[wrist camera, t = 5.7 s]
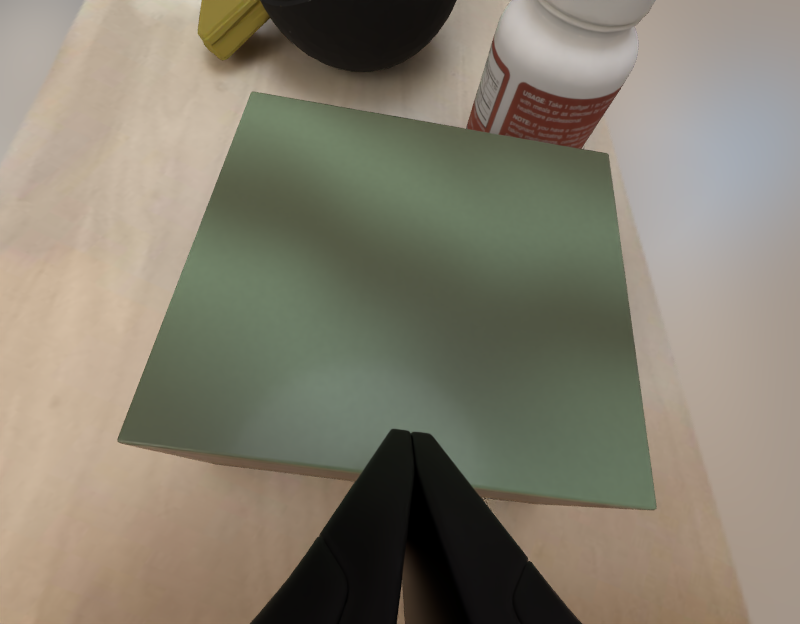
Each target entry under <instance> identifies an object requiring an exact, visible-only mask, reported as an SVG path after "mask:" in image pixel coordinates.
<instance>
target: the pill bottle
mask: <svg viewBox="0 0 800 624" xmlns="http://www.w3.org/2000/svg"><path fill="white" fill-rule="evenodd" d="M654 2H655V0H511V1H510V3H509V4H508V5H507V6H506V8H505V9H504V11H503V13H502V15H501V17H500V19H499V22H498V25H497V28H496V31H495V34H494V38H493V41H492V44H491V48H490V51H489V55H488V58H487V61H486V65H485V68H484V71H483V74H482V78H481V81H480V84H479V87H478V91H477V94H476V97H475V101H474V104H473V107H472V110H471V114H470V117H469V120H468V124H467V127H466V129H470V130H476V131H481V132H487V133H493V134H499V135H504V136H510V137H516V138H521V139H527V140H533V141H539V142H544V143H550V144H556V145H561V146H567V147H573V148H579V149H581V148H582V147H583V145H584V144H585V142H586V141H587V139H588V138H589V136H590V135H591V133H592V132H593V130H594V129H595V127H596V125H597V124H598V122H599V121H600V119H601V118H602V116H603V115H604V113H605V112H606V110H607V109H608V107H609V105H610V104H611V103H612V101H613V100H614V98H615V97H616V95H617V94H618V92H619V90H620V89H621V87H622V86H623V84H624V82H625V81H626V79H627V77H628V76H629V74H630V72H631V71H632V69H633V67H634V64H635V62H636V59H637V54H638V36H637V32H636V29H635V26H636V25H637V24H638V23H639V22H640V21H641V20H642V18H643V17H645V16H646V15H647V14H648V13H649V11H650V9H651V7H652V5H653V4H654Z"/></svg>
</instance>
